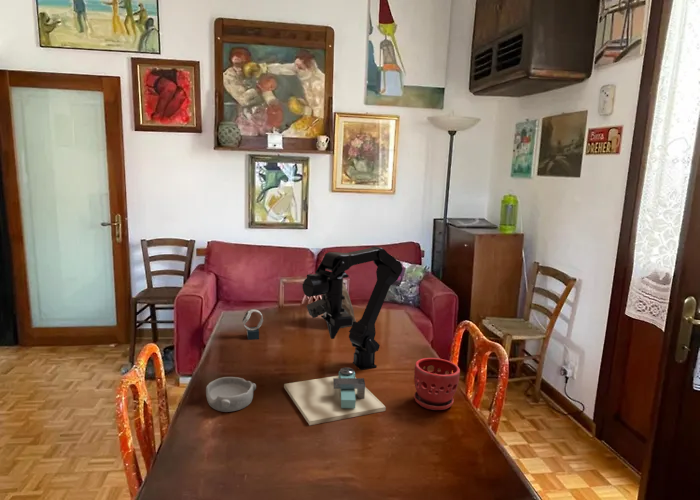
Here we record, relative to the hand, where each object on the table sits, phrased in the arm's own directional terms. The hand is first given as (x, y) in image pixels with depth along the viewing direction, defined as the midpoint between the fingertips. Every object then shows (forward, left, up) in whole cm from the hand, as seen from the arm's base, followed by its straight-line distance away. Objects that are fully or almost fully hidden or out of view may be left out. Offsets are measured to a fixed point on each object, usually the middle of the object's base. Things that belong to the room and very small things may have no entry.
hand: (332, 338), depth 164 cm
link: (+1, +15, -11) cm, 19 cm away
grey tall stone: (-23, -47, -13) cm, 54 cm away
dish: (+34, +6, -13) cm, 37 cm away
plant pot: (-22, +28, -13) cm, 38 cm away
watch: (+16, -44, -13) cm, 49 cm away
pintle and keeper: (0, +13, -12) cm, 17 cm away
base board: (+6, +15, -13) cm, 21 cm away
